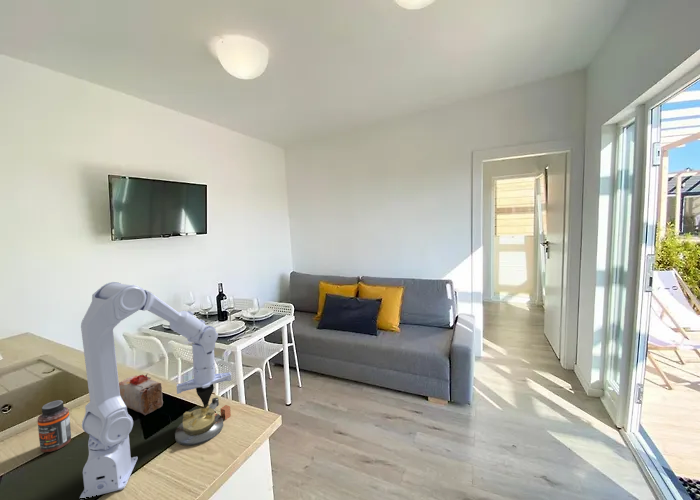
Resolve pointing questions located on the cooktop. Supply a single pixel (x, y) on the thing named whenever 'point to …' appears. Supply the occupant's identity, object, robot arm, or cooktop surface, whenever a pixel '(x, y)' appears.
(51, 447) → the supplement bottle
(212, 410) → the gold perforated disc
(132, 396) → the food item
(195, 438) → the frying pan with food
